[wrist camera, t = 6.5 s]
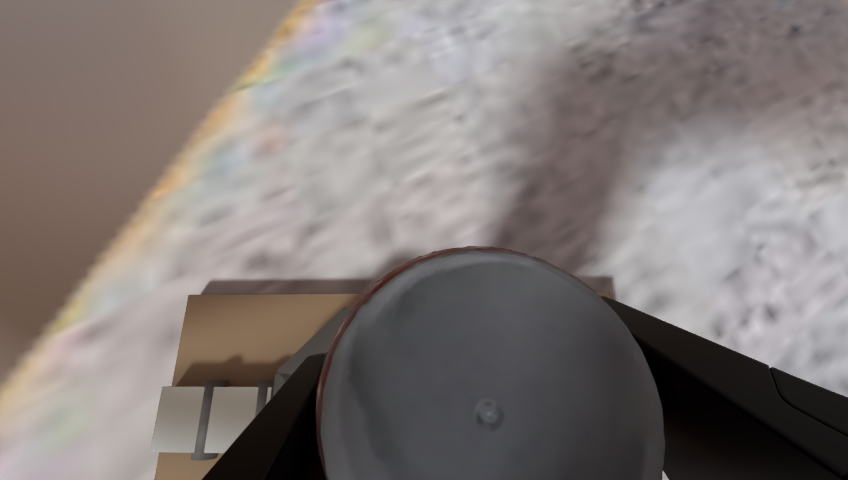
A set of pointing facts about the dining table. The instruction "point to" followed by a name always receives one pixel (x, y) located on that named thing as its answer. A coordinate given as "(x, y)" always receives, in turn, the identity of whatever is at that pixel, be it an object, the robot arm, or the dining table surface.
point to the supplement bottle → (486, 378)
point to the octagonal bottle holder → (236, 369)
